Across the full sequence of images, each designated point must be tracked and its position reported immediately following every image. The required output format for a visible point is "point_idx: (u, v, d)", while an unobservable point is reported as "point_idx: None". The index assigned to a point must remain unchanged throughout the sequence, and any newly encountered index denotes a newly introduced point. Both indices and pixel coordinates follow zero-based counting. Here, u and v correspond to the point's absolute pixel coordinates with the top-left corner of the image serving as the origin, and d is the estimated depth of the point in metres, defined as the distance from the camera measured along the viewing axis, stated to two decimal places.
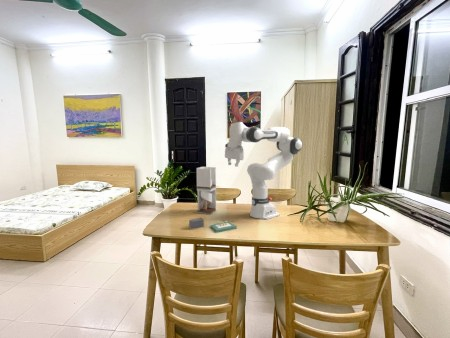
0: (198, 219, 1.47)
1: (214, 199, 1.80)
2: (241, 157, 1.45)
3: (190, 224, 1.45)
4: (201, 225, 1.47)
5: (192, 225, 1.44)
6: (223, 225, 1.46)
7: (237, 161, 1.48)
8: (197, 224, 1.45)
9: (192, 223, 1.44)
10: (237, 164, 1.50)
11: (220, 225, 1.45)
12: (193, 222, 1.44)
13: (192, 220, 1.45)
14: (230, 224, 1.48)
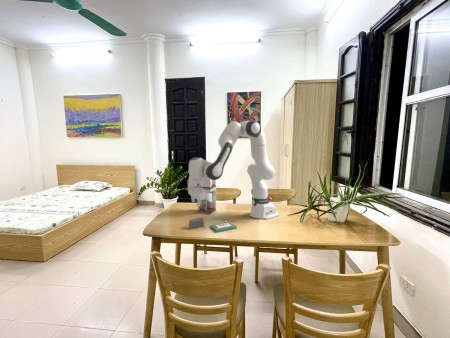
0: (198, 219, 1.47)
1: (214, 199, 1.80)
2: (201, 197, 1.36)
3: (190, 224, 1.45)
4: (201, 225, 1.47)
5: (192, 225, 1.44)
6: (223, 225, 1.46)
7: (198, 201, 1.39)
8: (197, 224, 1.45)
9: (192, 223, 1.44)
10: (199, 203, 1.40)
11: (220, 225, 1.45)
12: (193, 222, 1.44)
13: (192, 220, 1.45)
14: (230, 224, 1.48)
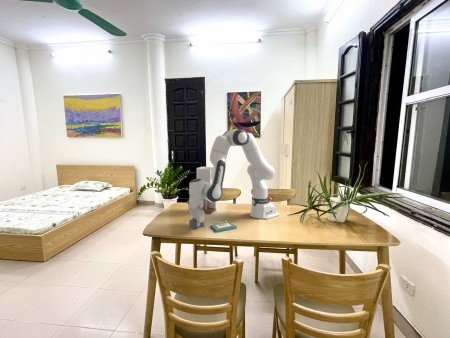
0: None
1: None
2: (202, 220, 1.38)
3: (190, 224, 1.45)
4: (201, 225, 1.47)
5: (192, 225, 1.44)
6: (223, 225, 1.46)
7: (198, 221, 1.42)
8: None
9: (192, 223, 1.44)
10: (198, 224, 1.44)
11: (220, 225, 1.45)
12: (193, 222, 1.44)
13: (192, 220, 1.45)
14: (230, 224, 1.48)
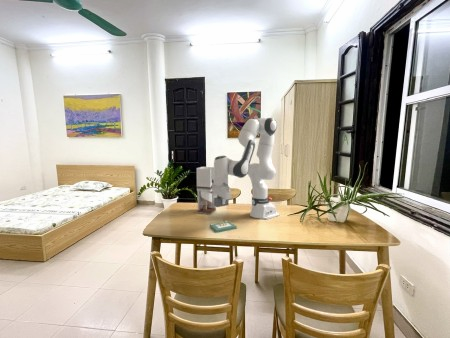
0: None
1: None
2: (228, 196, 1.35)
3: (215, 202, 1.43)
4: (226, 203, 1.44)
5: (217, 203, 1.41)
6: (223, 225, 1.46)
7: (223, 199, 1.40)
8: None
9: (217, 201, 1.41)
10: (224, 202, 1.42)
11: (220, 225, 1.45)
12: (218, 200, 1.41)
13: (217, 198, 1.43)
14: (230, 224, 1.48)
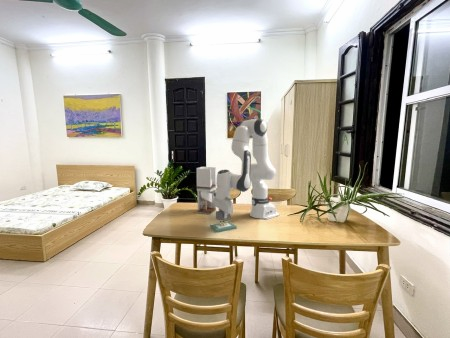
0: None
1: None
2: (230, 211, 1.36)
3: (217, 216, 1.43)
4: (228, 217, 1.45)
5: (219, 217, 1.42)
6: (223, 225, 1.46)
7: (225, 213, 1.41)
8: None
9: (219, 215, 1.42)
10: (226, 215, 1.42)
11: (220, 225, 1.45)
12: (220, 214, 1.42)
13: (219, 212, 1.43)
14: (230, 224, 1.48)
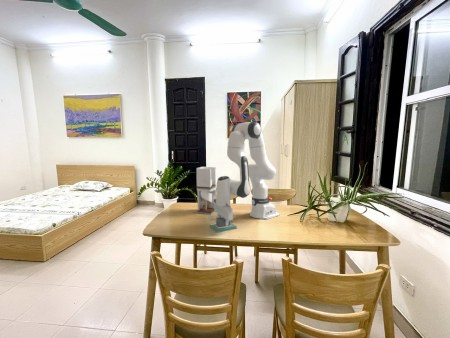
0: None
1: None
2: (230, 217, 1.36)
3: (217, 222, 1.44)
4: (228, 223, 1.45)
5: (219, 223, 1.42)
6: None
7: (227, 220, 1.40)
8: (224, 222, 1.44)
9: (219, 221, 1.42)
10: (227, 223, 1.41)
11: None
12: (220, 220, 1.42)
13: (219, 218, 1.44)
14: (230, 224, 1.48)
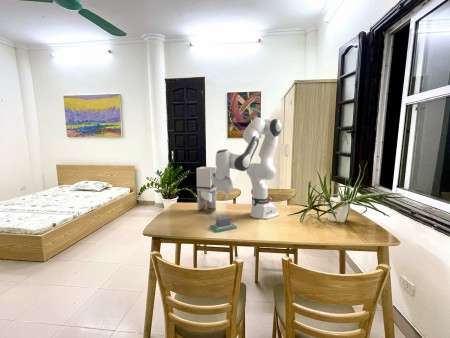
0: (225, 217, 1.46)
1: (214, 199, 1.80)
2: (230, 189, 1.36)
3: (217, 222, 1.44)
4: (228, 223, 1.45)
5: (219, 223, 1.42)
6: None
7: (227, 193, 1.40)
8: (224, 222, 1.44)
9: (219, 221, 1.42)
10: (227, 196, 1.41)
11: None
12: (220, 220, 1.42)
13: (219, 218, 1.44)
14: (230, 224, 1.48)
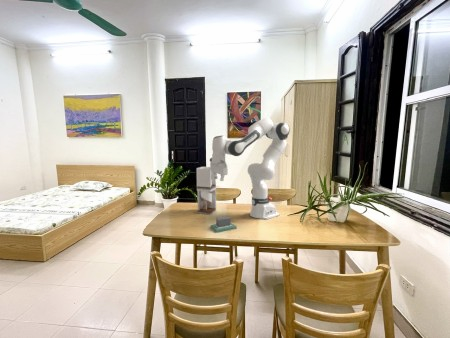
0: (225, 217, 1.46)
1: (214, 199, 1.80)
2: (225, 172, 1.46)
3: (217, 222, 1.44)
4: (228, 223, 1.45)
5: (219, 223, 1.42)
6: None
7: (222, 176, 1.49)
8: (224, 222, 1.44)
9: (219, 221, 1.42)
10: (222, 179, 1.50)
11: None
12: (220, 220, 1.42)
13: (219, 218, 1.44)
14: (230, 224, 1.48)
